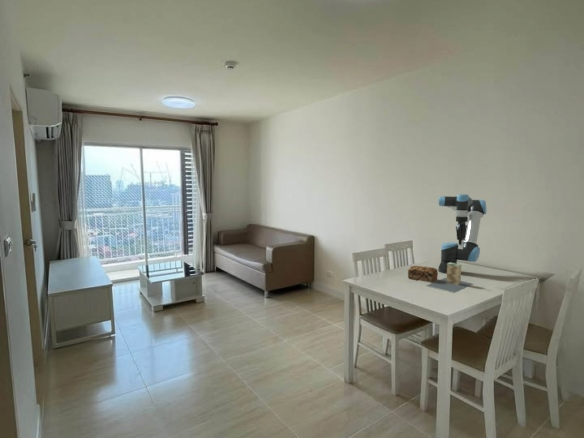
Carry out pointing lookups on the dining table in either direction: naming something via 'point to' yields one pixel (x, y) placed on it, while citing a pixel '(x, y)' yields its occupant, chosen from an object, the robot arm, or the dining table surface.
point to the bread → (422, 273)
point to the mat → (449, 285)
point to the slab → (454, 273)
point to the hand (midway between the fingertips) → (460, 248)
